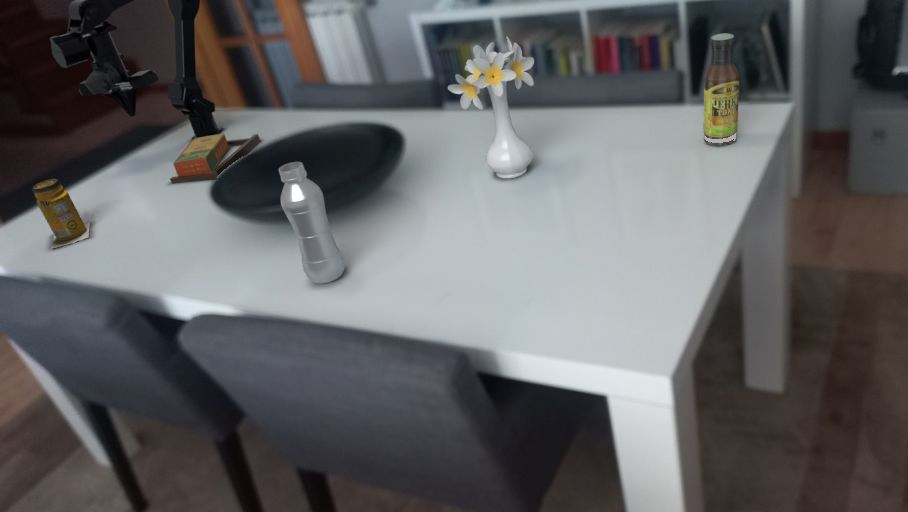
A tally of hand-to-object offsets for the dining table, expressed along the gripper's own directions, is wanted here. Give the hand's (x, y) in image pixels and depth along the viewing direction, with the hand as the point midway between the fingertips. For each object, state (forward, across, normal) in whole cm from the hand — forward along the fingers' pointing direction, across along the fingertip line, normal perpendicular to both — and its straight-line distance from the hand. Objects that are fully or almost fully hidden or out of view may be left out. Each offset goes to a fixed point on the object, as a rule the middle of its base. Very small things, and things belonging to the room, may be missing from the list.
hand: (133, 115), depth 183 cm
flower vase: (+12, +100, -29) cm, 105 cm away
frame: (+12, +22, -6) cm, 26 cm away
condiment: (+12, +6, -41) cm, 43 cm away
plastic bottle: (+12, +74, -64) cm, 99 cm away
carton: (+12, +19, -6) cm, 23 cm away
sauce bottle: (+12, +140, -22) cm, 143 cm away
